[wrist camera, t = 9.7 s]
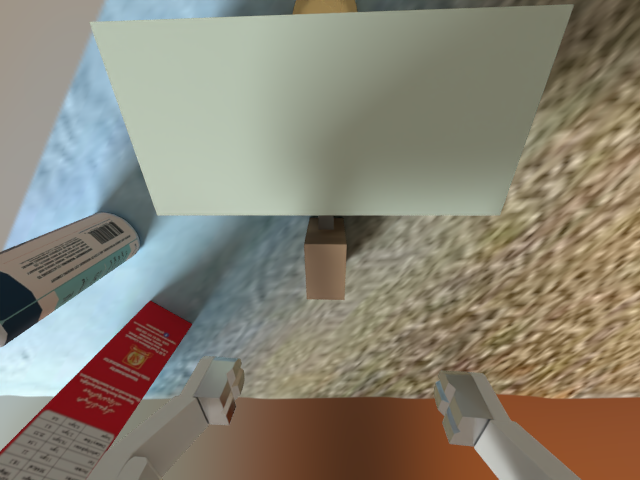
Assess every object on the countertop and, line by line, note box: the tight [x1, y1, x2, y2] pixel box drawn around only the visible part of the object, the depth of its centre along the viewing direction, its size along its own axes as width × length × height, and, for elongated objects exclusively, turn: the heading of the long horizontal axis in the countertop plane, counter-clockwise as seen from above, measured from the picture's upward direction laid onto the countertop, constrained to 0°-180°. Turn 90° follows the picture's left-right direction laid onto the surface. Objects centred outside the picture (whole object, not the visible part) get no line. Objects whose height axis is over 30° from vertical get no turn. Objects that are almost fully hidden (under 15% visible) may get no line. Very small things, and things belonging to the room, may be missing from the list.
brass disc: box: [293, 0, 358, 15], centre depth 15 cm, size 4×4×1 cm
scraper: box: [304, 215, 347, 300], centre depth 18 cm, size 6×16×5 cm, turn 1°
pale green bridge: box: [90, 4, 574, 215], centre depth 14 cm, size 18×8×8 cm, turn 91°
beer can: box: [0, 212, 140, 347], centre depth 17 cm, size 5×5×12 cm
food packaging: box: [0, 301, 192, 480], centre depth 19 cm, size 15×5×25 cm, turn 139°
